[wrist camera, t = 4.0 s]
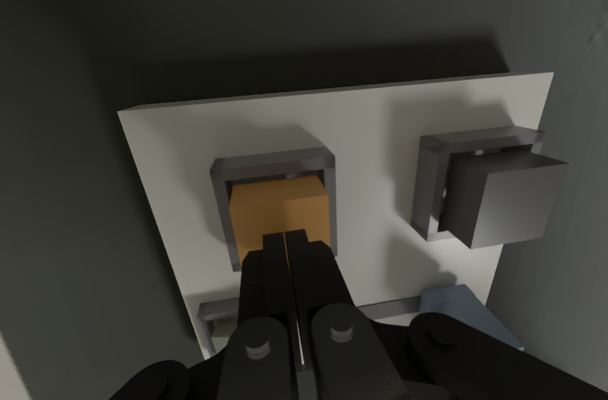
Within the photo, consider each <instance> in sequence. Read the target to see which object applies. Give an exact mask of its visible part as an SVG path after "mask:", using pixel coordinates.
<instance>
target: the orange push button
mask: <svg viewBox="0 0 608 400" xmlns="http://www.w3.org/2000/svg"><path fill="white" fill-rule="evenodd" d="M229 212H230V217H231V222H232V226H233V231H234V235H235V240H236V245H237V249H238V254H239V259H240V263H241V268H242V261H243V259H244V258H245V256H246V255H247V253H248V252H249V251H254V250H260V249H263V238H262V235H264V234H271V233H278V232H283V236H284V242H285V248H286V241H285V231H291V230H298V229H305V231H306V234H307V237H308V241H309V242H313V241H319V240H322V241H323V242H324V243H325V244H327V245H328V246H329V247H330V223H329V195H328V193H327V192H326V190H325V188H324V186H323V185H322V183H321V181H320V180H319V178H318V176H317V175H311V176H303V177H295V178H287V179H278V180H270V181H262V182H254V183H246V184H238V185H233V190H232V194H231V199H230V204H229ZM286 254H287V249H286ZM287 260H288V257H287Z"/></svg>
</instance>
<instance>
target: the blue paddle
mask: <svg viewBox="0 0 608 400" xmlns="http://www.w3.org/2000/svg"><path fill="white" fill-rule="evenodd" d="M425 312H437V313H442V314H446V315H448V316H451V317H453V318H455V319H457V320H459V321H461V322H463V323H465V324H467V325H469V326H472V327H474V328H476V329H478V330H480V331H482V332H484V333H486V334H488V335H490V336H492V337H494V338H496V339H498V340H500V341H502V342H504V343H506V344H509V345H511V346H513V347H515V348H517V349H519V350H521V351H523V350H524V348H525V347H524V346H523V345H522V344H521V343H520V342H519V341H518V339H517V338H516V337H515V336H514V335H513V334H512V333H511V332H510V331H509V330H508V329H507V328H506V327H505V326H504V325H503V324H502V323H501V322H500V321H499V320H498V319H497V318H496V317H495V316H494V315H493V314H492V313H491V312H490V311H489V310H488V309H487V308H486V307H485V306H484V305H483V304H482V303H481V302H480V301H479V299H478V298H477V297H476V296H475V294H474V293H473V292H472V291H471V290H470V289H469V288H468V287H467V285H466V284H461V285H455V286H449V287H444V288H438V289H433V290H427V291H422V296H421V302H420V309H419V314H421V313H425Z"/></svg>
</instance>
